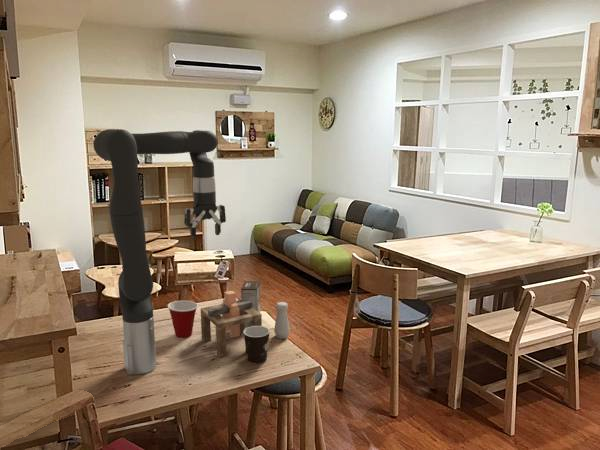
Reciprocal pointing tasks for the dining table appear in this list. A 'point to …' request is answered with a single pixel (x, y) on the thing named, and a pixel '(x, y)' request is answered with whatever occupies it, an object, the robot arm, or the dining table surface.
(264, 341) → the coffee mug
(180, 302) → the plastic cup
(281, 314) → the salt shaker
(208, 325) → the square wooden frame
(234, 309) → the stepped pink block
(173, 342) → the dining table surface
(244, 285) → the coffee box
